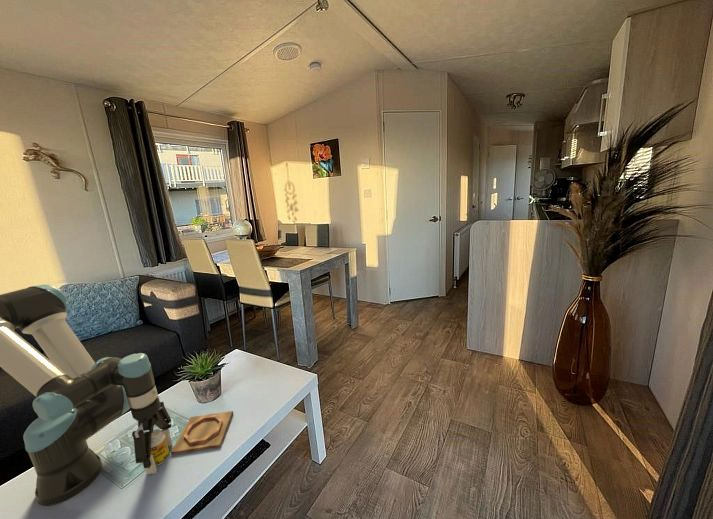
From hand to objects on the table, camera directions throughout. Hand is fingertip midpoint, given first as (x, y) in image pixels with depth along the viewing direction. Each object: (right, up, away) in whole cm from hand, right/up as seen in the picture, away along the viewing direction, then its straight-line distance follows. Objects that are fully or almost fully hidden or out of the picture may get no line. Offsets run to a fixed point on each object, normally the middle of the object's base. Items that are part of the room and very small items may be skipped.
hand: (160, 458), depth 99 cm
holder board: (+10, +3, +10) cm, 14 cm away
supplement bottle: (0, 0, 0) cm, 1 cm away
